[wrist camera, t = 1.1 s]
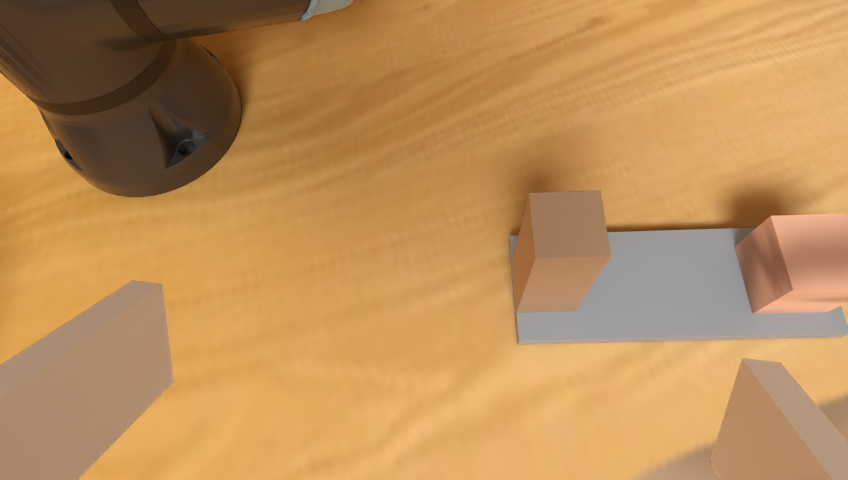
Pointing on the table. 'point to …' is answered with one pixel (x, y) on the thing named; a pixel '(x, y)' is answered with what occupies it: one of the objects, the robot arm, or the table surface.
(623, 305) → the strip
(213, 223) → the table surface
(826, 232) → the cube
